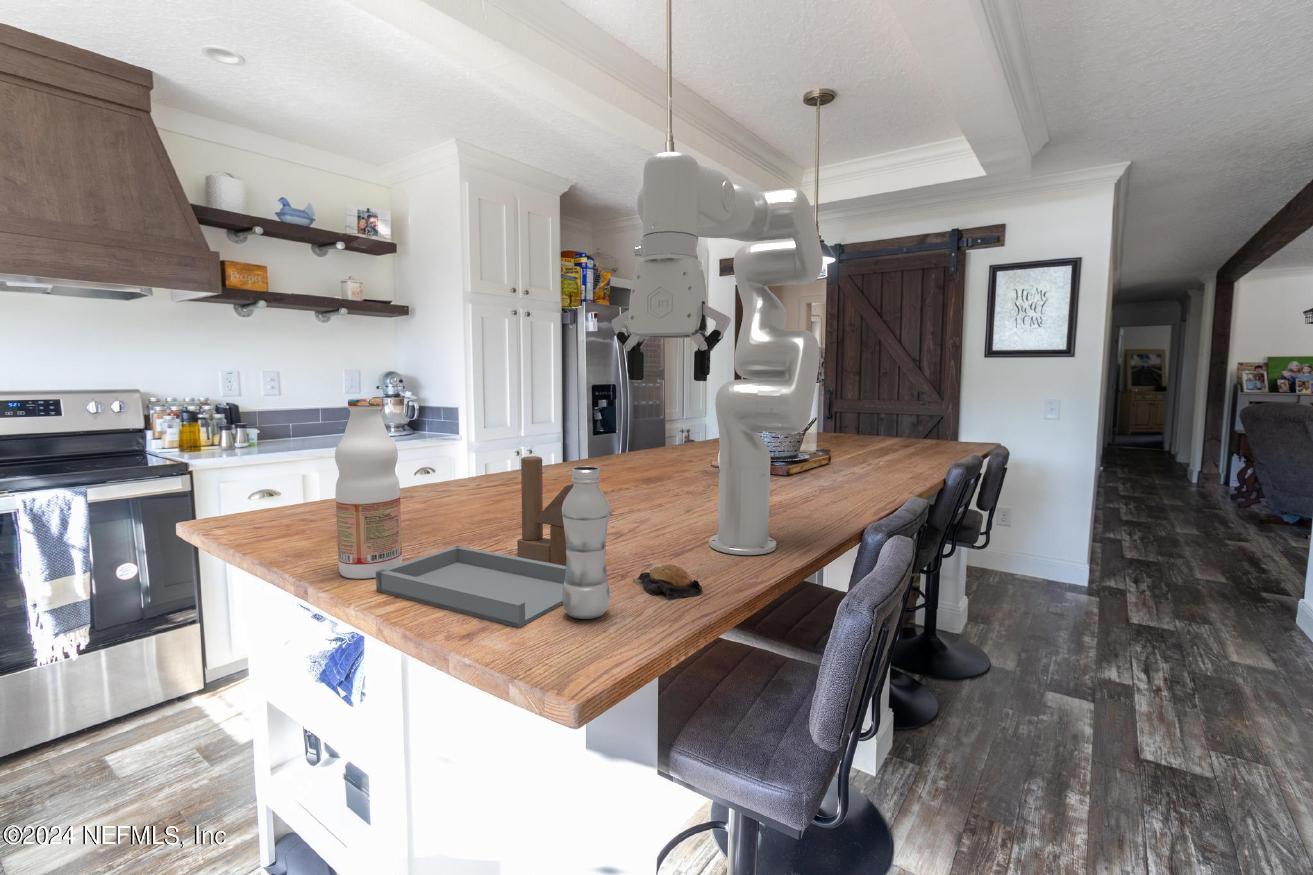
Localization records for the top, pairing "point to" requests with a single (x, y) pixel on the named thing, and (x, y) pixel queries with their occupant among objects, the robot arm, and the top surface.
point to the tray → (478, 584)
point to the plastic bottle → (585, 546)
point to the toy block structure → (540, 517)
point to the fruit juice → (367, 494)
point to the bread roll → (668, 583)
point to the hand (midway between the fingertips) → (667, 380)
